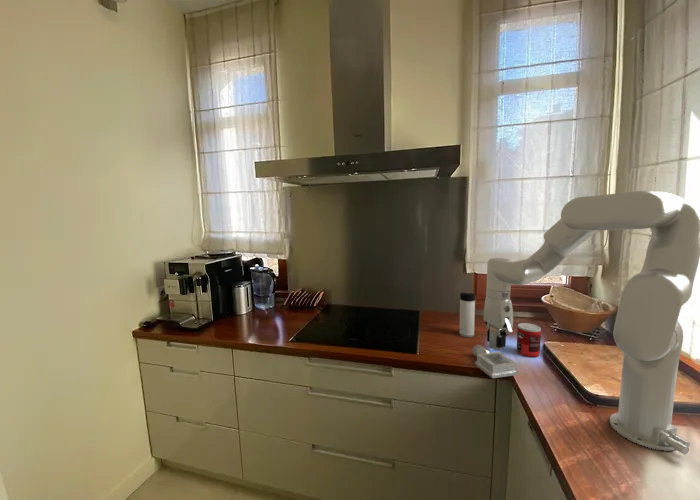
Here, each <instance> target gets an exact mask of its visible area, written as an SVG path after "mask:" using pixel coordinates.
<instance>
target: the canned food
mask: <svg viewBox="0 0 700 500" xmlns="http://www.w3.org/2000/svg"><path fill="white" fill-rule="evenodd" d="M516 328H517V330H516V335H517V336H516V351H517V353H518V354H519V355H521V356H523V357H526V358H538V357H540V354H541V341H542V339H541V337H542V328H541V327H540V326H539V325H537V324H534V323H527V322H521V323H517V327H516Z"/></svg>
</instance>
